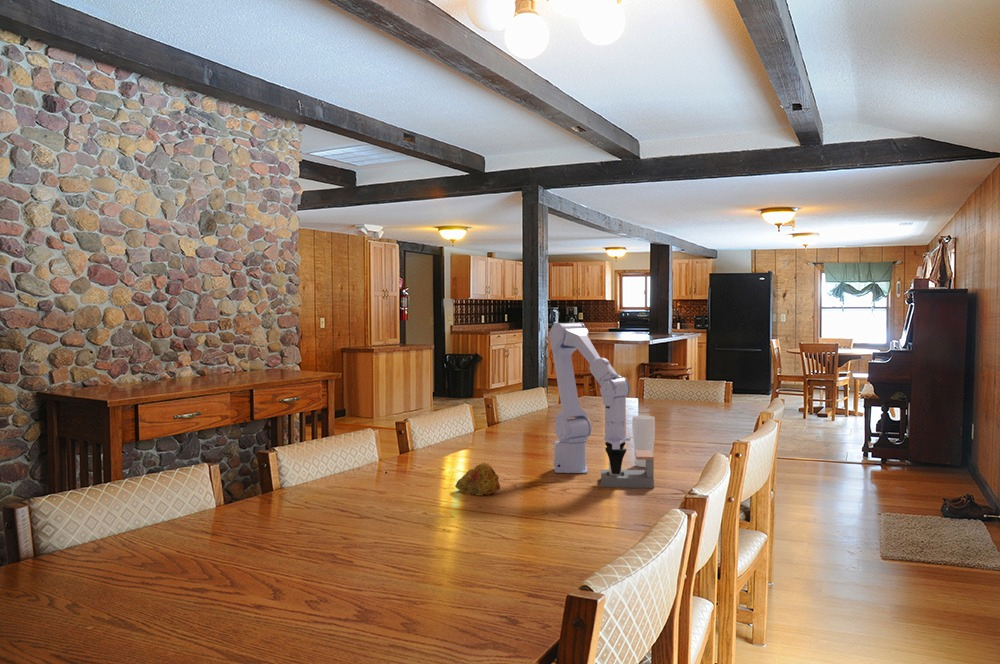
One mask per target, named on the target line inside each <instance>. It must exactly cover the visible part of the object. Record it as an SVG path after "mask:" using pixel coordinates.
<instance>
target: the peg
mask: <svg viewBox="0 0 1000 664" xmlns="http://www.w3.org/2000/svg"><path fill="white" fill-rule="evenodd" d="M608 470H609V476H621V471H620V474H612V471H611V466H610V460H609V459H608Z"/></svg>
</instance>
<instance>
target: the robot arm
mask: <svg viewBox="0 0 1000 664" xmlns="http://www.w3.org/2000/svg"><path fill="white" fill-rule="evenodd" d="M548 337H549V341H550V342H549V343H550V349H551V352H552V357H553V363H554V364H553V365H554V371H555V376H556V381H557V388H558V395H559V399H560V400H559V401H560V405H561V410H560V411H559V412H558V413H557V415H555V418H554V419H555V428H554V429H555V435H556V437H557V438H558V439H559V440H554V459H553V466H554V473H557V474H561V473H563V474H588V465H587V446H586V445H587V443H586V441H588V440H589V437H590V436H591V434H592V430H593V429H592V428H593V427H592V424H591V423H592V422H591V421H590V419H589V416H588V412H587V411H586V410H585V409H583V408H582V407H580V402H579V396H578V388H577V385H576V384H577V383H576V378H575V377H576V376H575V371H574V365H573V361H572V355H573V353H574V352H575V351H576V350H578V351H579V353H580V354H581V355H582V356H583V357H584V358H585V360H586V361H587V362H588V363H589V371H590V373H591V375H592V376H593V377H594V378H595V380H596V381H597V383H598V385H599V386H600V387H599V392H600V396H601V397H602V404H603V405H604V438H603V439H604V441H605V442H604V445H605V446H606V447H605V450H604V451H605V452H606V454H607V456H608V461H609V460H610V466H611V471H612V474H620V471H621V470H622V465H623V460H624V457H625V456H626V453H627V448H624V447H625V445H626V442H627V441H628V442H629V441H631V437H630V436H627V420H626V419H627V414H626V413H627V410H626V409H627V408H626V407H627V406H626V405H627V404H626V403H627V401H626V398H627V397H628V396H629V395H630V394H631V385H630V382H629V381H628V378H627V377H624V376H621V375H620V374H618V373H617V372H616V369H614V367H613V366H612V365H611V363H610V360H608V358H606V357H601V356H600V354H599V353H598V351H597V350H596V348H595V346H594V345H593V343H592V340H591V339H590V337H589V330H588V328H586V325H585V324H584V322H580V321H578V322H555V323H553V325H551V328H550V330H549V333H548Z"/></svg>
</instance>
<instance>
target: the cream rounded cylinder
mask: <svg viewBox="0 0 1000 664" xmlns="http://www.w3.org/2000/svg"><path fill="white" fill-rule="evenodd" d="M631 420H632V426H631V427H632V429H631V430H632V440H633V441H632V442H633V451H634V465H635V466H636V467H637V468H646V460H637V459H636V455H635V450H651V451H652V454H653V455H654V448H655V447H654V445H655V436H656V433H655V432H656V419H655V416H653V415H634V416H632V419H631Z"/></svg>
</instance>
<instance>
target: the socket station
mask: <svg viewBox="0 0 1000 664" xmlns="http://www.w3.org/2000/svg"><path fill="white" fill-rule="evenodd" d="M635 455H636V459H637V460H646V467H645V470H644V469H643V470H640V469H639V470H638V469H621V476H609V469H600V487H601V488H629V489H631V488H632V489H633V488H637V489H640V488H641V489H654V488H655V478H654V474H655V473H654V465H655V463H654V460H655V459H654V453H653V454H652V451H651V450H635V454H634V456H635Z"/></svg>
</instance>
